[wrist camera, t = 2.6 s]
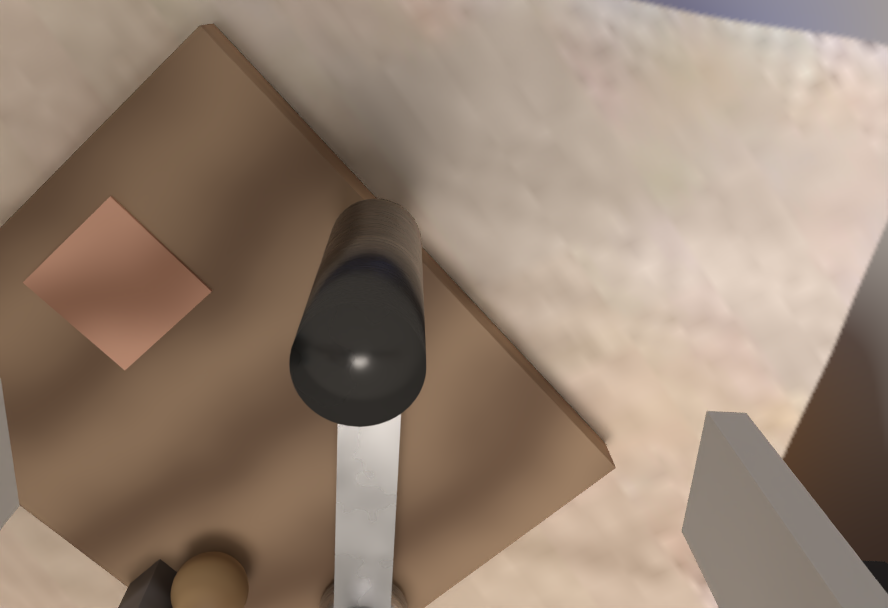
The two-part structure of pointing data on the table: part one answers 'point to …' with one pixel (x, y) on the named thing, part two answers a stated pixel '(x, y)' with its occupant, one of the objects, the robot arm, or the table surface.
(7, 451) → the robot arm
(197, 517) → the nutcracker board
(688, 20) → the table surface
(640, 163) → the table surface
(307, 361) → the lever
